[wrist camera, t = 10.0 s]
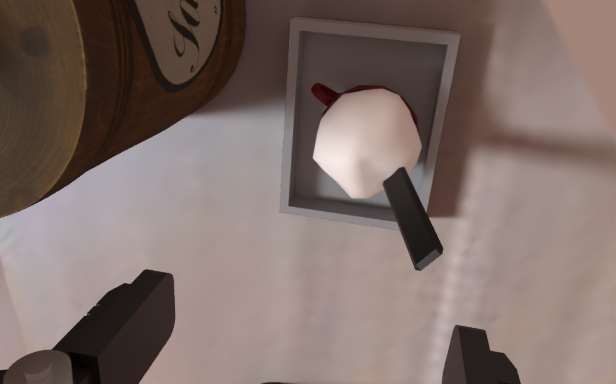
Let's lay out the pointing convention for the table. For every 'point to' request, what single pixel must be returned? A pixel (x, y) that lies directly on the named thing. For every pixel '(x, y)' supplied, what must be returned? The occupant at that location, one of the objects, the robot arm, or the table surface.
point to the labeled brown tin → (102, 81)
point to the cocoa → (376, 157)
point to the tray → (348, 74)
